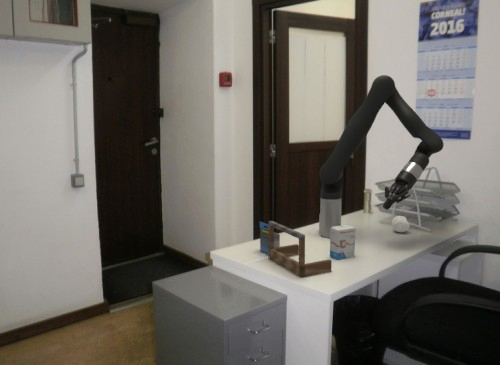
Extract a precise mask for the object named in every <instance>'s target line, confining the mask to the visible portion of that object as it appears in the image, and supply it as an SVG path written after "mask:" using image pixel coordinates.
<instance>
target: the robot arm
mask: <svg viewBox="0 0 500 365" xmlns="http://www.w3.org/2000/svg"><path fill="white" fill-rule="evenodd" d="M384 105H387V107H388V108H390V110H391V111H393V114H395V116H396V117H397V119H398V120H399V122H400V123H401V124H402V126H403V127H404V128H405V129H406V131H407V132H408V133H409V135H411V137H412V138H414V139H420V142H419V144H418V145H417V147H416V148H415V151H414V153H413V154H412V156H411V158H410V159H408V160H409V161H407V163H405V165H404V166H403V167H402V169H401V170H400V171H399V173H397V175H396V177H395V178H394V182H393V183H392V184H391V185H390V186H389V187H388V186H385V187H384V197H385V199H386V200H385V201H384V202H383V204H382V208H383V209H384V210H387V211H389V209H391V207H392V206H393V204H396V203H400V202H402V201H404V200H406V199H407V198H410V197H411V192H409V191H410V190H413V189H412V188H413V187H414V185H415V184H416V183H417V182H418V181H419V179H420V178H421V176H422V174H423V172H424V171H425V170H426V168H427V167H428V166H429V164H430V157H431V156H432V155H433V154H436V153H439V152H441V151H442V150H443V149H444V144H445V143H444V140H443V138H442V137H441V136H440V135H439V134H438V133H437V132H435V131H434V130H433V129H432V128H430V127H429V126H428V125H426V123H425V122H424V121H423V120H422V118H421V117H420V115H418V114H417V113H416V111H415V110H414V109H413V108H412V107H411V106H410V105H409V104H408V103H407V102H406V101H405V100H404V98H403V97H402V96H401V94H400V93H399V91H398V89H397V87H396V83H395V80H394V78H392V77H391V76H389V75H386V74H384V75H382V74H381V75H379V76H377V77H376V78H374V79H373V81H372V83H371V86H370V89H369V91H368V93H367V95H366V97H365V99H364V101H363V103H362V104H361V105H360V107H359V108H358V109H357V110H356V111H355V113H354V114H353V116H352V117H351V118H350V120H349V121H348V123H347V125H346V126H345V127H344V129H343V132H342V133H341V135H340V138H339V139H338V141H337V143H336V145H335V147H334V149H333V151H332V153H331V154H330V156H329V157H328V158H327V160H326V161H325V162H324V164H323V165H322V166H321V167H320V169H319V179H320V180H321V189H320V208H319V209H320V210H319V211H320V213H319V216H318V218H319V220H318V228H319V229H318V230H319V231H318V232H319V233H318V234H319V235H320V237H322V238H326V239H327V238H328V239H330V231H331V228H332V227H334V226H342V196H343V195H342V194H343V179H344V178H343V174H344V173H343V172H344V171H343V170H344V168H345V167H346V165H347V163H348V161H349V160H350V158H351V157H352V155H354V153H355V152H356V151H357V150H358V148H359V147H360V146H361V145H362V143H363V142H364V140H365V139H366V137H367V135H368V134H369V132H370V130H371V128H372V126H373V124H374V122H375V120H376V118H377V116H378V114H379V112H380V110H381V108H382V107H383V106H384Z"/></svg>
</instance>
